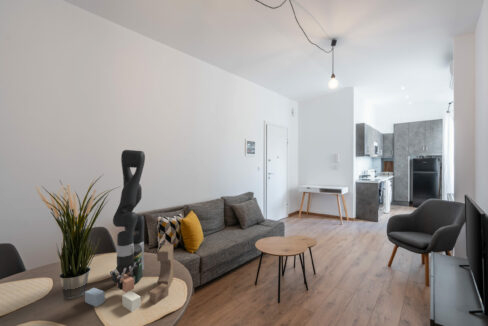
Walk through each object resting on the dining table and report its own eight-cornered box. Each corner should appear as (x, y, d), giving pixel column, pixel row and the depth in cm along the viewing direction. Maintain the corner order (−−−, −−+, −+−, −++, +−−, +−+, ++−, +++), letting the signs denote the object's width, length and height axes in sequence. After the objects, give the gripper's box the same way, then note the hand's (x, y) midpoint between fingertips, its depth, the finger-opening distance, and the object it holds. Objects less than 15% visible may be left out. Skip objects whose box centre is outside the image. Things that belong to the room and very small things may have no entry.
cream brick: (122, 305, 105) (122, 294, 104) (130, 301, 108) (130, 290, 108) (132, 312, 100) (132, 300, 100) (140, 307, 103) (140, 296, 103)
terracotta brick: (117, 287, 113) (117, 277, 113) (125, 283, 116) (125, 273, 116) (125, 292, 109) (125, 282, 108) (133, 288, 112) (134, 278, 112)
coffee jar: (130, 276, 131) (130, 243, 131) (144, 275, 131) (144, 243, 131) (121, 285, 122) (121, 250, 121) (136, 285, 122) (136, 250, 122)
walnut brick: (155, 304, 106) (155, 293, 106) (149, 301, 108) (149, 291, 107) (168, 295, 113) (168, 285, 113) (162, 293, 115) (162, 283, 115)
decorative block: (167, 290, 117) (167, 251, 116) (156, 290, 116) (156, 251, 116) (173, 279, 128) (173, 243, 127) (163, 279, 127) (163, 243, 127)
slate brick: (85, 302, 107) (85, 291, 107) (93, 297, 110) (93, 287, 110) (96, 307, 103) (96, 296, 103) (104, 302, 107) (104, 291, 107)
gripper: (135, 246, 120) (135, 278, 120) (106, 255, 108) (106, 291, 109) (143, 249, 116) (143, 283, 116) (114, 259, 104) (114, 296, 104)
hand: (125, 286), depth 112 cm, fingers closed on terracotta brick, 4 cm apart
